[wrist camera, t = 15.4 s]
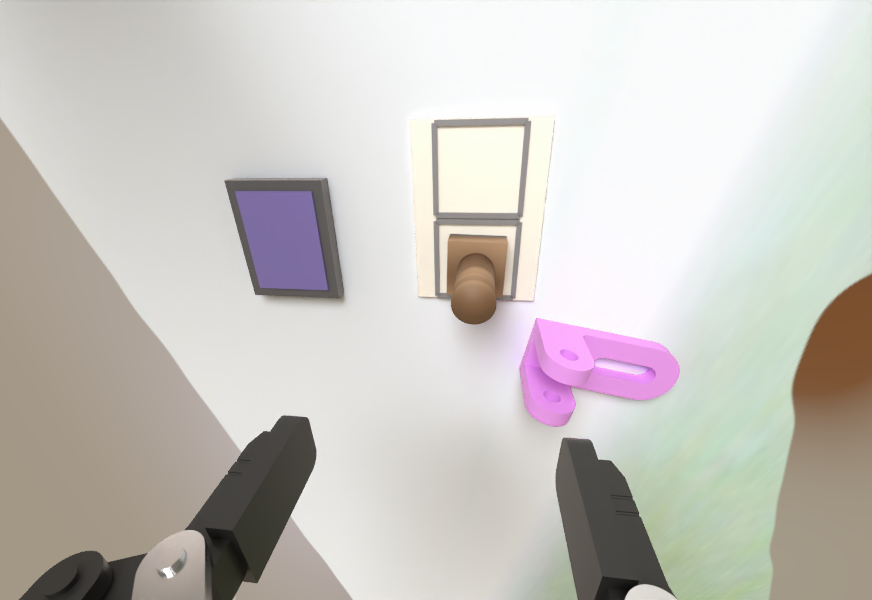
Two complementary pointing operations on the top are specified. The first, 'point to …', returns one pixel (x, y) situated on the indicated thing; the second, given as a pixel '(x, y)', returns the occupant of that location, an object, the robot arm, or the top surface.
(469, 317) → the stamp
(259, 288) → the ink pad
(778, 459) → the top surface
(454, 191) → the sheet
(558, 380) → the bracket
